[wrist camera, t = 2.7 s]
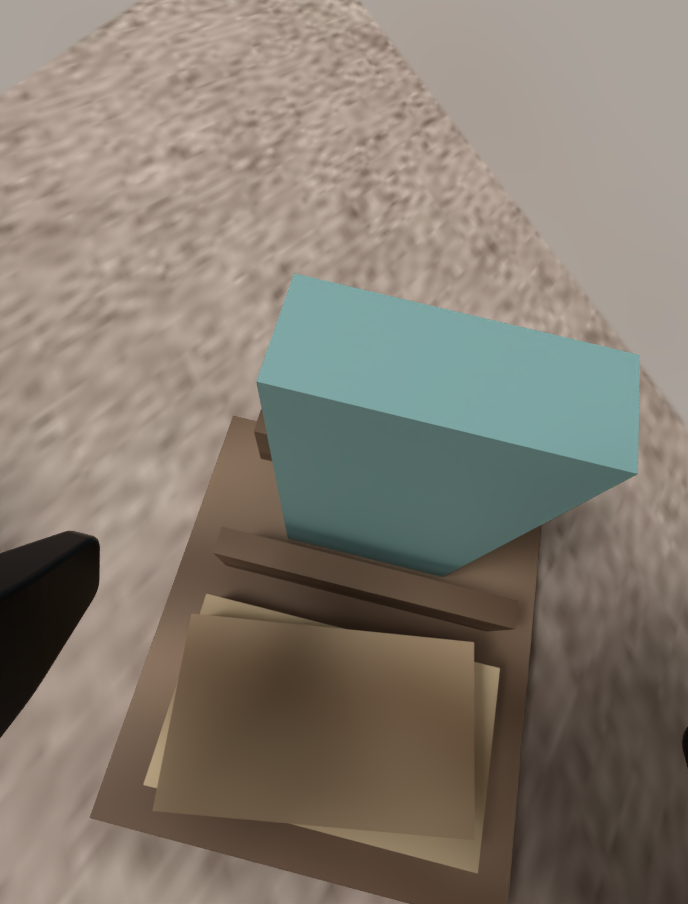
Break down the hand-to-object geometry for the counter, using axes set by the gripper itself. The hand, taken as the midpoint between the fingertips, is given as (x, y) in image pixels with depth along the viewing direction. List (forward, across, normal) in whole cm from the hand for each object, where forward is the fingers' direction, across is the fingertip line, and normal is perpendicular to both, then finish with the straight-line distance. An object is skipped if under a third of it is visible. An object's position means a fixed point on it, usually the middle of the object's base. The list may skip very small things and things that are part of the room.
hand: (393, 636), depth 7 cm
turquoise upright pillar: (+10, 0, +4) cm, 10 cm away
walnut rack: (+8, 0, +8) cm, 11 cm away
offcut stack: (+5, 0, +8) cm, 10 cm away
